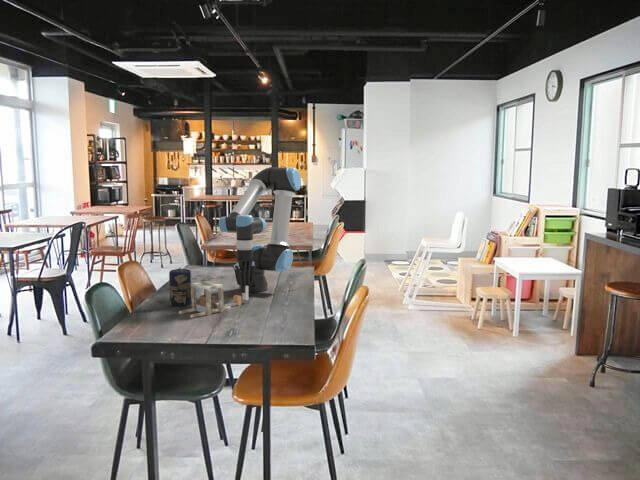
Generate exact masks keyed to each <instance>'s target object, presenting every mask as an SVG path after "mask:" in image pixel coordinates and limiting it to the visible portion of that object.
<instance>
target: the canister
mask: <svg viewBox="0 0 640 480" xmlns="http://www.w3.org/2000/svg"><path fill="white" fill-rule="evenodd" d="M168 273H169V274H168V277H169V280H168V281H169V282H168V283H169V305H170V306H171V307H176V308H177V307H178V308H179V307H181V308H182V307H188V306H190V305H191V306H192V292H191V286H192V285H191V283H192V281H191V280H192V275H191V274H192V273H191V270H190V269H187V268H181V267H179V268H175V269H170V270H169V272H168Z"/></svg>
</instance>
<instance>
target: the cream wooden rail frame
mask: <svg viewBox="0 0 640 480" xmlns="http://www.w3.org/2000/svg"><path fill="white" fill-rule="evenodd" d="M197 288H198V289H203V295H206V312H197V311H196V305H197V304H198V303H197V301H198V300H197ZM213 289H217V291H218V293H217V294H218V295H217V296H218V302H215V304H219V309H215V310H211V295H212V290H213ZM224 301H225V300H224V284H221V283H217V282H214V281H208V280H204V281H198V282H191V308H188V309H183V310H182V309H181V310H179V311H178V315H182V314H187V313H192V312H195V313H193V314H189V316H190V318H191V319H192V318H197V317H202V316H211V315H212V314H215V313H216V314H217V313H224V312H225V311H229V310H232V306H229V307H224V305H225V303H224ZM196 312H197V313H196Z"/></svg>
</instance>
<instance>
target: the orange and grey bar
mask: <svg viewBox="0 0 640 480" xmlns="http://www.w3.org/2000/svg"><path fill="white" fill-rule="evenodd" d="M241 305H242V295H239V294H235V295H233V302H229V303H224V307H229V306H230V307H235V306H241ZM215 309H219V304H216V303H215V308H214V309H211V310H215ZM195 312H197V313H201V312H206V307H205V306H201V305H200V304H198V303H197V305H196V311H195Z"/></svg>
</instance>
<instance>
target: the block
mask: <svg viewBox="0 0 640 480" xmlns="http://www.w3.org/2000/svg"><path fill="white" fill-rule="evenodd" d="M215 304H216V296H215V295H213V294H211V309H214V308H215ZM199 305H201V306H205V307H206V295H204V294H201V295H199Z"/></svg>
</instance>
